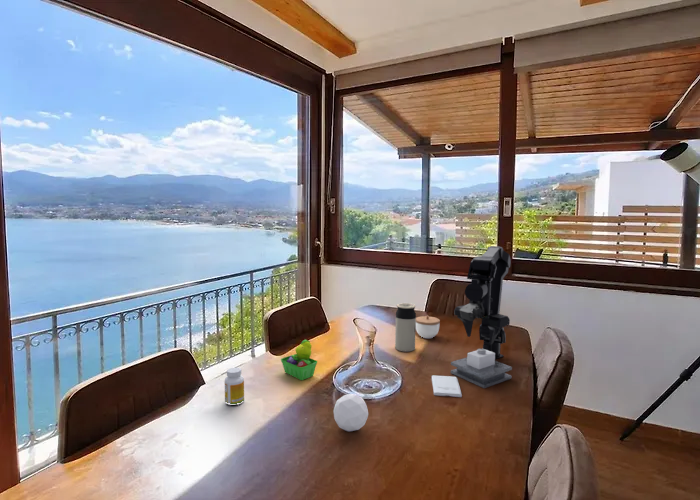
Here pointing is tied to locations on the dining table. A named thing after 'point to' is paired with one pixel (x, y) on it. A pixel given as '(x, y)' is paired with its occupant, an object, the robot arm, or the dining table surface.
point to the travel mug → (405, 327)
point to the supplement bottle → (234, 386)
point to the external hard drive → (446, 386)
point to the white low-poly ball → (350, 412)
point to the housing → (480, 358)
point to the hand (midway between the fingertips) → (479, 340)
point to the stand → (481, 373)
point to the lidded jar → (427, 326)
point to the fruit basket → (300, 362)
